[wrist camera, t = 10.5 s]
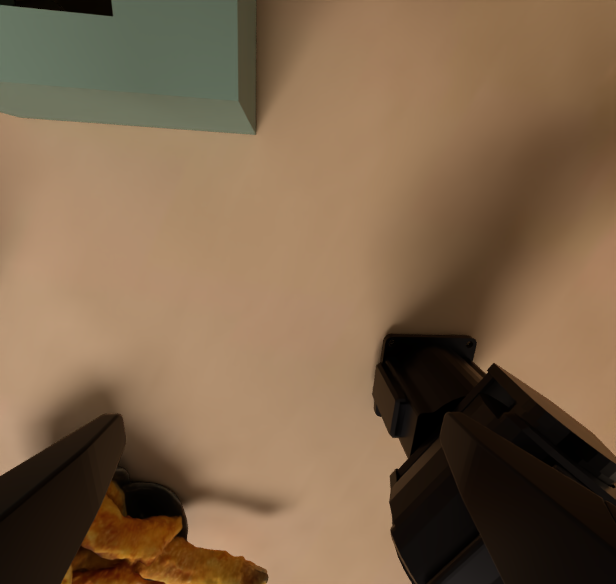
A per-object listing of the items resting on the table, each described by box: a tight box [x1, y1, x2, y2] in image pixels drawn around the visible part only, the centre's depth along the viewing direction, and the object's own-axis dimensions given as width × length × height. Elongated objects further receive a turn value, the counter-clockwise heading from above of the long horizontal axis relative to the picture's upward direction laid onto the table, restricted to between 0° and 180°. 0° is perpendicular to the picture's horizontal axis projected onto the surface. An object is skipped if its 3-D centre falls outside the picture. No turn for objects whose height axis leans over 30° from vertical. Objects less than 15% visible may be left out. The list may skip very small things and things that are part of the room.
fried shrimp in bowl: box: [61, 467, 268, 584], centre depth 20 cm, size 9×11×18 cm
